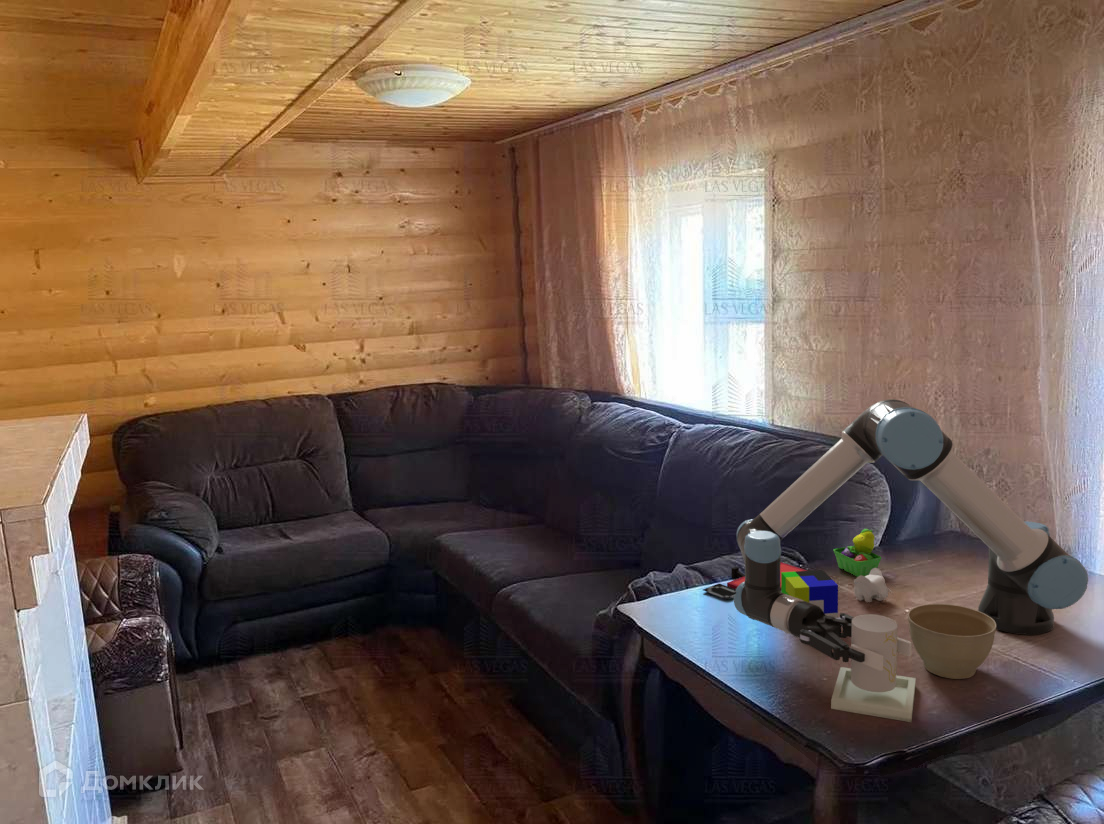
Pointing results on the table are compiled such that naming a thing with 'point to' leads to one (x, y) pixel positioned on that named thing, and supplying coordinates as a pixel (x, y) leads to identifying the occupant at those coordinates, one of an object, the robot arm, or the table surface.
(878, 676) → the white cylinder
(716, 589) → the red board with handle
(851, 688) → the tray
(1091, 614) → the table surface
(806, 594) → the puzzle toy
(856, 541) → the fruit basket
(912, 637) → the planter bowl
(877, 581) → the elephant figurine
